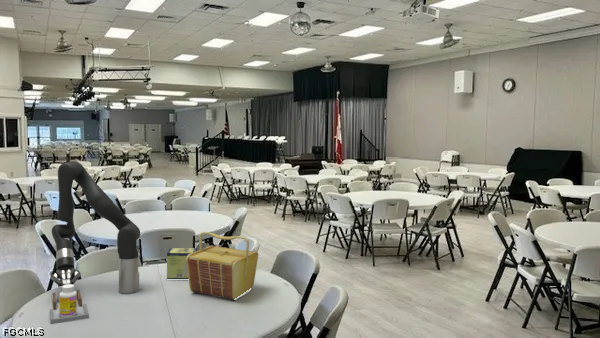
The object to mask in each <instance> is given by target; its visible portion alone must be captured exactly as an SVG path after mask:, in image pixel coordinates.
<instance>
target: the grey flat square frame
mask: <svg viewBox="0 0 600 338" xmlns="http://www.w3.org/2000/svg"><path fill="white" fill-rule="evenodd" d="M82 309H83V312H84V314H75V315H74V316H69V317H59V318H58V317H57V318H55V316H54V310H53V308H49V317H50V318H49V319H50V322H49V323H50V325H52V324H58V323H65V322H72V321H78V320H79V321H80V320H84V319H89V318H90V313H89V310H88V307H87V304H83V305H82Z"/></svg>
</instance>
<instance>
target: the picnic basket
mask: <svg viewBox="0 0 600 338" xmlns="http://www.w3.org/2000/svg"><path fill="white" fill-rule="evenodd" d="M203 235H211V237H213V238H216V239H218V240H219V239H220V240H225V241H226V240H227V241H230V240H235V239H242V240H245V242H246V245H245V246H246V247H245V250H244V249H235V248H229V247H222V246H215V245H209V246H206V247H204V248H203V241H202V237H203ZM198 242H199V249H197V251H196V252H193V253H191V254H189V255H188V256H187V257H186V265H187V272H188V279H189V281H188V285H189V290H190V292H191V293H194V292H195V293H198V294H199V293H200V294H203V293H204V295H208V296H214V295H215V297H219V296H220V297H221V298H224V297H225V299H230V298H231V300H233V299H235V298H237V297H238V296H240V295H241V294H243V293H244V292H246V291H247V290H249V289H250V288H252V287H253V288H254V286H255V285H254V284H255V279H256V273H257V265H258V261H259V260H258V259H259V253H258V252H257V251H250V250H249V248H250V241H249V239H248V238H247V237H245V236H237V235H235V236H234V235H233V236H223V235H220V234H217V233H214V232H213V233H212V232H209V231H202V232H200V233H199V235H198ZM253 288H252V289H253Z"/></svg>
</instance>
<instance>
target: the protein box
mask: <svg viewBox="0 0 600 338" xmlns="http://www.w3.org/2000/svg"><path fill="white" fill-rule="evenodd" d="M196 251H198V248H197V247H196V248H194V247H189V248H186V247H183V248H181V247H180V248H178V247H177V248H175V247H174V248H173V247H172V248H171V247H170V248H169V250H168V251H167V253H166V280H167V279H188V272H187V265H186V257H187V256H188V255H189V254H191V253H193V252H196Z"/></svg>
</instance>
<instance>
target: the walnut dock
mask: <svg viewBox="0 0 600 338" xmlns="http://www.w3.org/2000/svg"><path fill="white" fill-rule="evenodd" d="M76 293H77V303H78V304H77V306H78V307H83V305H82V304H83V298H82V295H81V291H80V289H76ZM56 295H57V294H56V292H53V293H52V309H53V311H57V307H58V306H57V296H56Z"/></svg>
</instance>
